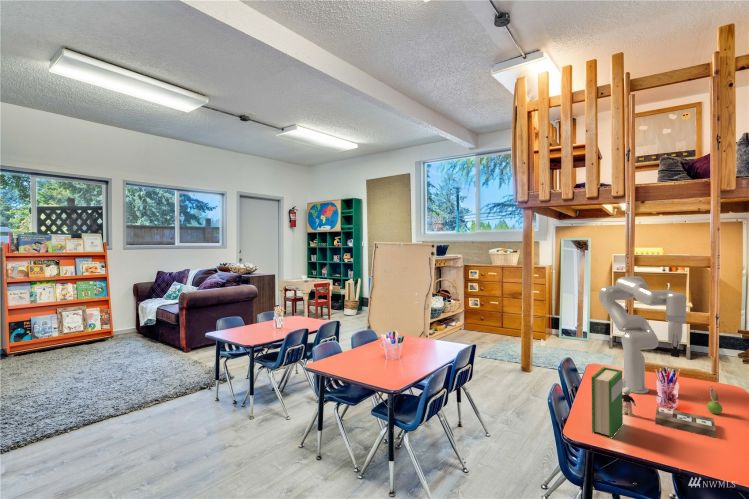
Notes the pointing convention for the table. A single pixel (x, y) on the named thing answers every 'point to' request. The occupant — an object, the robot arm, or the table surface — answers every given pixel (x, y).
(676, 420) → the counting board
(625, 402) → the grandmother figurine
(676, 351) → the robot arm
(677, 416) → the three dot tile
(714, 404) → the snail figurine
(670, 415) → the two dot tile
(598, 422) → the hardback book
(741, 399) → the table surface
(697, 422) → the cream knobbed tile
